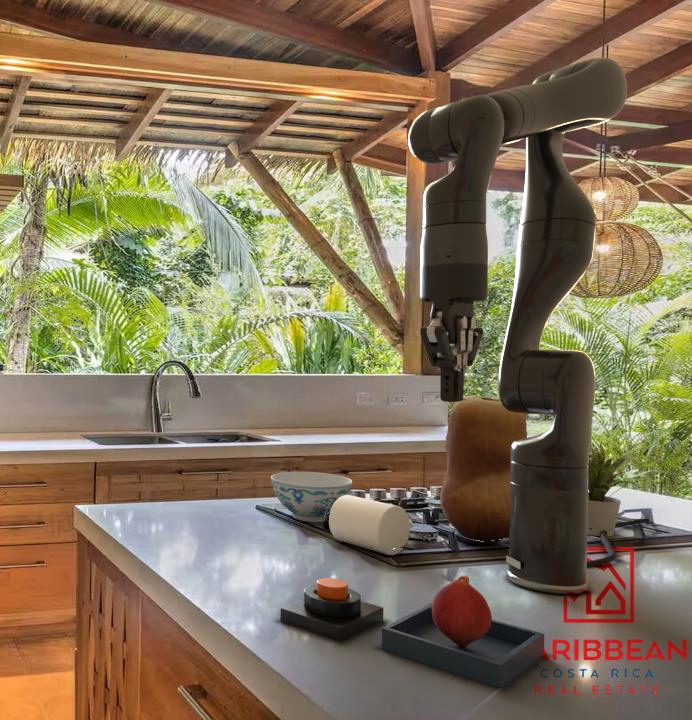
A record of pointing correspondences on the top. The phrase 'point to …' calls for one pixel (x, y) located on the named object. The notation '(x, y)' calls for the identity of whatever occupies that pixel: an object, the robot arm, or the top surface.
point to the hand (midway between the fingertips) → (451, 401)
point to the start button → (332, 588)
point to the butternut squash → (480, 467)
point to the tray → (465, 648)
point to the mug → (369, 524)
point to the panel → (332, 614)
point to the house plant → (603, 492)
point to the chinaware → (309, 493)
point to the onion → (461, 612)
